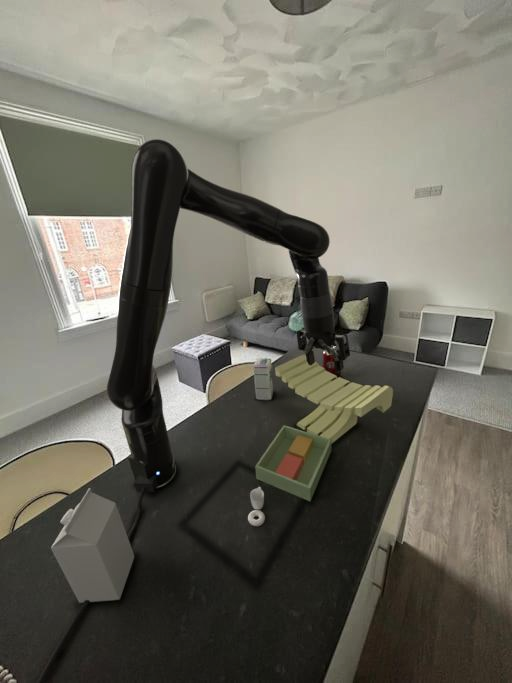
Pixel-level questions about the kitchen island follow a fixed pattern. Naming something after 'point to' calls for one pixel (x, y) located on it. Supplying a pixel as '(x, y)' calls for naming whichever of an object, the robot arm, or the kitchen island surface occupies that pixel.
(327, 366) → the soda can
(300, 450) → the block
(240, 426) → the kitchen island surface
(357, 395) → the slatted curved stool
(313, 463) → the basket
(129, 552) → the milk carton
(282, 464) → the block
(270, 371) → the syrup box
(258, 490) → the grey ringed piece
